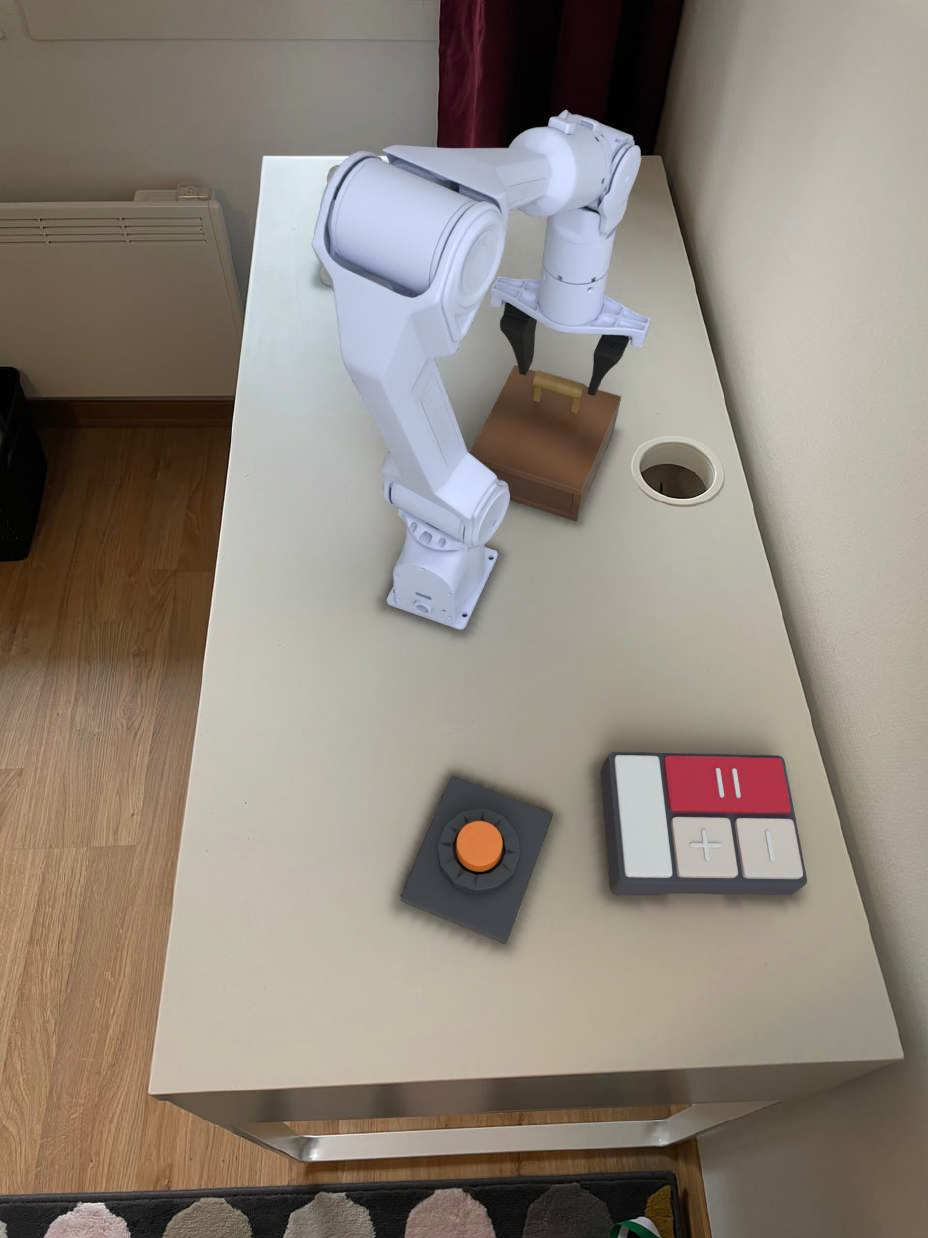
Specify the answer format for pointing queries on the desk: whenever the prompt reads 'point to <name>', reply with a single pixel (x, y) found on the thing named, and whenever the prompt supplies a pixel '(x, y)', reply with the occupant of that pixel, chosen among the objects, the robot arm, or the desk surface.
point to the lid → (546, 430)
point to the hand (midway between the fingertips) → (559, 377)
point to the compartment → (550, 496)
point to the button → (479, 846)
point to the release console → (470, 894)
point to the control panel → (700, 824)
